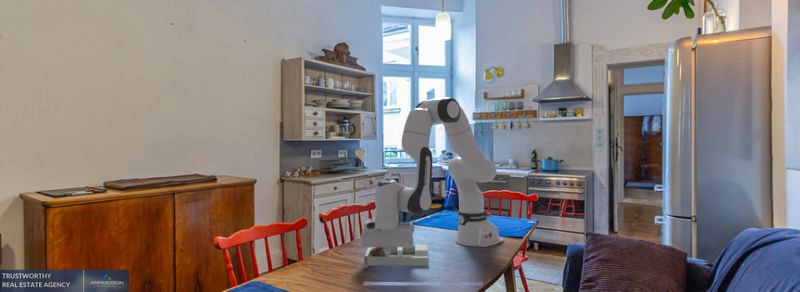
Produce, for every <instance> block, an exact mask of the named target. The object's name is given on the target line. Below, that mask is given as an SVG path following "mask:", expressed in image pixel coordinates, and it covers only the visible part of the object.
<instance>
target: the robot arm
mask: <svg viewBox="0 0 800 292" xmlns="http://www.w3.org/2000/svg"><path fill="white" fill-rule="evenodd" d="M438 125H443V127H444V130H445V134H446V138H447V140H448V143H449V145H450V149H451V150H452V151H453V153H455V154H456V155H457V157H453V158H451V159H450V161H449V162H448V165H447V170H448V174H449V175H450V176H451V177H452V179H453V181H454V183H455V185H456V189H457V192H458V206H459V207H458V208H459V209H458V214H457V217H458V218H457V219H458V229H457V234H456V238H455V243H456V244H458V245H462V246H467V247H479V248H486V247H490V246H493V245H496V244H499V243H500V244H501V243H503V242H505V239H504V238H503V237H502V236H500V235H499V228H498V227H497V226H496V225H495V224H494V223H492V222H491V221H490V220H489V219H488V217H489V218H490V217H491V216H492V213H491V212H490V211H485V207H484V206H485V203H484V202H485V199H484V197H485V196H484V194H483V192H482V190H481V189H480V188H479V187H478V185H477V183H488V182H492V181H493V180H494V179H495V177H496V175H497V166H496V163H495V162H494V161H493V160H491V159H490V158H488V156H486V154H485V153H484V152H483V151H482V149H481V148H480V146H479V145H478V143H477V141H476V139H475V135H474V133H473V130H472V127H471V124H470V121H469V120H468V117H467V114H466V113H465V111H464V109H463V108H462V107H461V106H460V104H459V102H458V100H456V99H455V98H454V97H449V96H444V97H435V98H431V99H429V100H428V99H427V100H423V101H420V102H419V103H418V104H417V105H416V106H415V108H413V109H411V110H410V111H409V112H408V115H407V117H406V121H405V123H404V128H403V131H402V137H401V148H402V150H403V151H404V153H405V154H406V155H407V156H409V157H410V158H411V159H412V160H414V162H415V163H416V179H415V187H410V186H406V185H402V184H400V183H399V182H398V181H396V180H395V179H391V178H390V179H383V180H380V181H378V182H377V184H376V186H375V191H374V205H375V213H374V217H371V218H369V219H366V220H365V221H364V222H363V229H362V232H361V235H360V246H361V247H362V248H368V247H382V250H383V252H384V253H385V256H386V257H389V254H390V252H391V251H392V247H412V246H413V245H414V232H415V226H414V224H413V223H411V222H409V221H406V222H403V221H401V222H400V221H399V211H402V212H405V213H410V214H411V215H415V216H417V217H422V216H424V215H426V214H427V213H428V212H429V211H430V209H431V207H432V204H433V195H432V181H433V180H432V179H433V178H432V177H433V176H432V175H433V152H432V150H431V149H430V137H431V131H432V127H433V126H438ZM386 247H388V250H389V251H388V253H387V251H386Z"/></svg>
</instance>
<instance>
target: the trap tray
mask: <svg viewBox="0 0 800 292" xmlns="http://www.w3.org/2000/svg"><path fill="white" fill-rule="evenodd" d="M372 248H376V247H367V249H366V252H365V255H364V262H363V264H364V265H363V267H364V269H368V268H369V267H371V266H382V267H383V266H385V267H386V266H387V267H388V266H389V267H391V266H393V267H394V266H396V267H397V266H401V267H402V266H403V267H405V266H406V267H411V266H414V267H418V266H419V267H420V266H423V267H424V266H425V267H426V266H427V267H429V265H430V263H429V261H430V260H429V259H430V258H429V256H428V255H429V252H428V251H429V250H428V244H413V246H412V247H392V251H391V252H390V254H389V257H386V256H371V249H372ZM386 251H387V253H388V251H389V250H388V247H386Z"/></svg>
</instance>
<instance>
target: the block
mask: <svg viewBox="0 0 800 292" xmlns="http://www.w3.org/2000/svg"><path fill="white" fill-rule="evenodd" d="M371 256H385V253H384V252H383V250H382V247H376V248H372V249H371Z"/></svg>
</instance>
